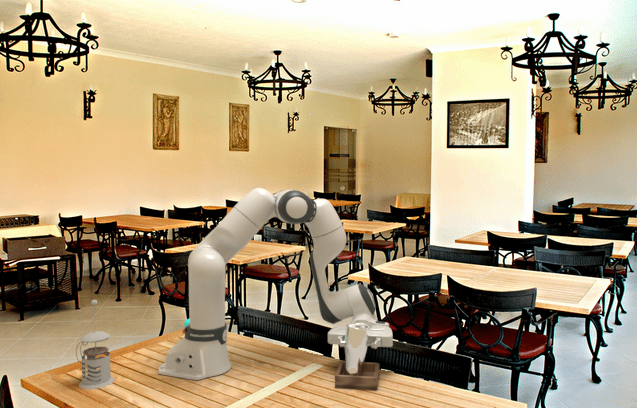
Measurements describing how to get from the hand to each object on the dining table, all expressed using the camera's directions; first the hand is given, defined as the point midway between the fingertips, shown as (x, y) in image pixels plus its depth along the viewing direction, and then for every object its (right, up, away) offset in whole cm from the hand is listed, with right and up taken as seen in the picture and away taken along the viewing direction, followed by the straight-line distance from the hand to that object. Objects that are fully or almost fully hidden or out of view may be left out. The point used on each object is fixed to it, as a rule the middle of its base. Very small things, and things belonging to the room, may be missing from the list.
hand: (358, 345), depth 148 cm
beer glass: (-1, -9, 0) cm, 10 cm away
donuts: (-55, -10, +32) cm, 65 cm away
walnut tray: (0, -11, 0) cm, 11 cm away
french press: (-79, -12, +1) cm, 80 cm away
